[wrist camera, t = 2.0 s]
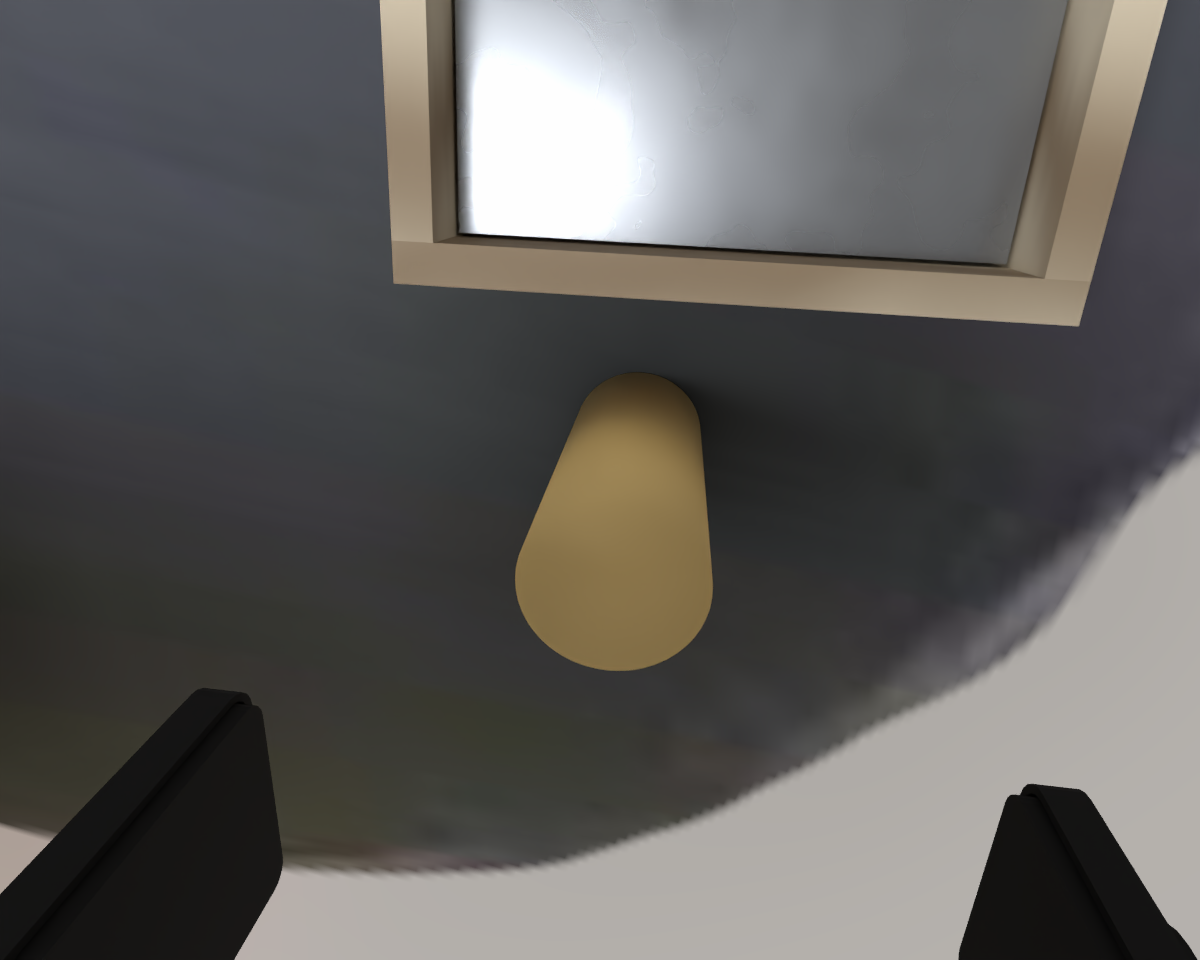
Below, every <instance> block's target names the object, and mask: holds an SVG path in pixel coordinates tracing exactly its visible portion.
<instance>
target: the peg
mask: <svg viewBox="0 0 1200 960" xmlns="http://www.w3.org/2000/svg"><path fill="white" fill-rule="evenodd" d="M515 586H516V593H517V598H518V602H519V605H520V608H521V610H522V613H523V615H524V617H525V619H526V620H527V622H528V624H529V625H530V627H531V628H532V629H533V631H534V632H535V633H536V634H537V635H538V637H539V638H540V639H541V640H542V641H543V642H544V643H546V644H547V645H548V646H549V647H550V648H551V649H553V650H554V651H556V652H557V653H559V654H560V655H562V656H564V657H566V658H567V659H569V660H571V661H574V662H576V663H579V664H581V665H584V666H588V667H592V668H595V669H602V670H609V671H627V670H636V669H641V668H646V667H649V666H652V665H655V664H658V663H660V662H662V661H665V660H667V659H669V658H670V657H672V656H674V655H675V654H677V653H678V652H679V651H681V650H682V649H683V648H684V647H686V646H687V645H688V644H689V643H690V642H691V641H692V640H693V639H694V638H695V636H696V635H697V633H698V632H699V631H700V629H701V628H702V626H703V624H704V622H705V620H706V618H707V615H708V613H709V610H710V607H711V601H712V596H713V579H712V566H711V554H710V541H709V529H708V516H707V504H706V491H705V479H704V466H703V454H702V441H701V429H700V421H699V418H698V414H697V412H696V409H695V407H694V405H693V403H692V402H691V400H690V399H689V397H688V396H687V395H686V394H685V393H684V392H683V391H682V390H681V389H680V388H679V387H678V386H676V385H675V384H674V383H672V382H671V381H669V380H667V379H665V378H663V377H660V376H657V375H654V374H649V373H642V372H633V373H625V374H621V375H617V376H615V377H612V378H610V379H608V380H606V381H604V382H603V383H601V384H600V385H598V386H597V387H596V388H595V389H594V390H593V391H592V392H591V393H590V394H589V395H588V396H587V398H586V399H585V401H584V402H583V404H582V406H581V408H580V410H579V413H578V415H577V418H576V420H575V422H574V425H573V427H572V430H571V432H570V434H569V437H568V439H567V441H566V444H565V446H564V449H563V451H562V453H561V456H560V458H559V461H558V463H557V465H556V468H555V470H554V472H553V475H552V477H551V480H550V482H549V484H548V487H547V489H546V491H545V494H544V496H543V499H542V501H541V503H540V506H539V508H538V511H537V513H536V515H535V518H534V520H533V522H532V525H531V527H530V530H529V532H528V534H527V537H526V539H525V542H524V544H523V546H522V549H521V551H520V554H519V556H518V561H517V565H516V573H515Z"/></svg>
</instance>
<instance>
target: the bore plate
mask: <svg viewBox="0 0 1200 960" xmlns="http://www.w3.org/2000/svg"><path fill="white" fill-rule="evenodd" d="M1067 2H1068V0H455V46H456V101H457V156H458V211H459V233H475V234H492V235H510V236H527V237H544V238H562V239H579V240H596V241H614V242H631V243H648V244H666V245H683V246H700V247H718V248H735V249H752V250H770V251H787V252H804V253H822V254H839V255H856V256H874V257H891V258H908V259H926V260H943V261H960V262H978V263H995V264H1007V260H1008V256H1009V252H1010V248H1011V243H1012V239H1013V235H1014V230H1015V226H1016V222H1017V217H1018V213H1019V209H1020V204H1021V200H1022V196H1023V192H1024V187H1025V183H1026V179H1027V174H1028V170H1029V166H1030V161H1031V157H1032V153H1033V148H1034V144H1035V140H1036V136H1037V131H1038V127H1039V123H1040V118H1041V114H1042V110H1043V105H1044V101H1045V97H1046V92H1047V88H1048V84H1049V79H1050V75H1051V71H1052V67H1053V62H1054V58H1055V54H1056V49H1057V45H1058V41H1059V36H1060V32H1061V28H1062V23H1063V19H1064V15H1065V11H1066V6H1067Z"/></svg>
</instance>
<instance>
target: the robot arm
mask: <svg viewBox="0 0 1200 960" xmlns="http://www.w3.org/2000/svg"><path fill="white" fill-rule="evenodd" d="M282 864H283V856H282V849H281V841H280V834H279V827H278V820H277V813H276V806H275V799H274V792H273V785H272V778H271V771H270V763H269V756H268V749H267V742H266V735H265V728H264V721H263V715H262V711H261V709H260V708H259V707H258V706H253V705H252V702H251V699H250V697H249V696H248V695H247V694H245V693H242V692H234V691H225V690H216V689H208V688H202V689H198V690H197V691H195V692H194V693H193V694H192V695H190V697H189V698H188V699H187V700H186V701H185V702H184V703H183V704H182V705H181V706H180V707H179V708H178V709H177V710H176V711H175V712H174V713H173V714H172V715H171V716H170V717H169V718H168V720H167V721H166V722H165V723H164V724H163V725H162V726H161V727H160V728H159V729H158V730H157V731H156V732H155V733H154V734H153V735H152V736H151V737H150V738H149V739H148V740H147V741H146V742H145V744H144V745H143V746H142V747H141V748H140V749H139V750H138V751H137V752H136V753H135V754H134V755H133V756H132V757H131V758H130V759H129V760H128V761H127V762H126V763H125V764H124V765H123V767H122V768H121V769H120V770H119V771H118V772H117V773H116V774H115V775H114V776H113V777H112V778H111V779H110V780H109V781H108V782H107V783H106V784H105V785H104V786H103V787H102V788H101V789H100V791H99V792H98V793H97V794H96V795H95V796H94V797H93V798H92V799H91V800H90V801H89V802H88V803H87V804H86V805H85V806H84V807H83V808H82V809H81V810H80V811H79V812H78V814H77V815H76V816H75V817H74V818H73V819H72V820H71V821H70V822H69V823H68V824H67V825H66V826H65V827H64V828H63V829H62V830H61V831H60V832H59V833H58V834H57V835H56V837H55V838H54V839H53V840H52V841H51V842H50V843H49V844H48V845H47V846H46V847H45V848H44V849H43V850H42V851H41V852H40V853H39V854H38V855H37V856H36V857H35V859H33V861H32V862H31V863H30V864H29V865H28V866H27V867H26V868H25V869H24V870H23V871H22V872H21V873H20V874H19V875H18V876H17V877H16V878H15V879H14V880H13V881H12V882H11V884H10V885H9V886H8V887H7V888H6V889H5V890H4V891H3V892H2V893H1V894H0V960H234V959H235V957H236V955H237V954H238V952H239V950H240V949H241V947H242V945H243V943H244V942H245V940H246V938H247V937H248V935H249V933H250V931H251V930H252V928H253V926H254V924H255V923H256V921H257V919H258V918H259V916H260V914H261V913H262V911H263V909H264V907H265V906H266V904H267V902H268V901H269V899H270V897H271V896H272V894H273V892H274V890H275V888H276V886H277V884H278V881H279V878H280V875H281V871H282ZM959 960H1197V958H1196V957H1195V955H1194V953H1193V952H1192V950H1191V949H1190V947H1189V945H1188V944H1187V943H1186V942H1185V940H1184V939H1183V938H1182V936H1181V935H1180V934H1179V933H1178V932H1177V930H1175V929H1174V928H1173V927H1171V926H1170V925H1169V924H1168V923H1167V922H1166V920H1165V918H1164V917H1163V915H1162V913H1161V912H1160V910H1159V909H1158V907H1157V906H1156V904H1155V902H1154V901H1153V899H1152V897H1151V896H1150V894H1149V893H1148V891H1147V889H1146V888H1145V886H1144V884H1143V883H1142V881H1141V880H1140V878H1139V876H1138V875H1137V873H1136V872H1135V870H1134V868H1133V867H1132V865H1131V864H1130V862H1129V860H1128V859H1127V857H1126V856H1125V854H1124V852H1123V851H1122V849H1121V847H1120V846H1119V844H1118V843H1117V841H1116V839H1115V838H1114V836H1113V835H1112V833H1111V831H1110V830H1109V828H1108V826H1107V825H1106V823H1105V822H1104V820H1103V818H1102V817H1101V815H1100V814H1099V812H1098V810H1097V809H1096V807H1095V806H1094V804H1093V802H1092V801H1091V799H1090V798H1089V797H1088V796H1087V794H1086V793H1085V792H1083V791H1081V790H1079V789H1072V788H1063V787H1054V786H1045V785H1037V784H1027V785H1026V786H1025V787H1024V788H1023V790H1022V792H1021V794H1020V795H1010V796H1009V797H1008V798H1007V800H1006V802H1005V805H1004V808H1003V812H1002V815H1001V818H1000V821H999V824H998V828H997V832H996V834H995V837H994V841H993V844H992V847H991V850H990V853H989V857H988V860H987V863H986V866H985V870H984V872H983V876H982V879H981V882H980V885H979V888H978V892H977V895H976V898H975V901H974V905H973V908H972V911H971V914H970V918H969V921H968V924H967V927H966V930H965V933H964V937H963V940H962V943H961V946H960V950H959Z"/></svg>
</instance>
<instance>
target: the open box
mask: <svg viewBox="0 0 1200 960" xmlns="http://www.w3.org/2000/svg"><path fill="white" fill-rule="evenodd" d="M1167 1H1168V0H1068V2H1067V6H1066V11H1065V15H1064V19H1063V23H1062V28H1061V32H1060V36H1059V41H1058V45H1057V49H1056V54H1055V58H1054V62H1053V67H1052V71H1051V75H1050V79H1049V84H1048V88H1047V92H1046V97H1045V101H1044V105H1043V110H1042V114H1041V118H1040V123H1039V127H1038V131H1037V136H1036V140H1035V144H1034V148H1033V153H1032V157H1031V161H1030V166H1029V170H1028V174H1027V179H1026V183H1025V187H1024V192H1023V196H1022V200H1021V204H1020V209H1019V213H1018V217H1017V222H1016V226H1015V230H1014V235H1013V239H1012V243H1011V248H1010V252H1009V256H1008V260H1007V264H995V263H978V262H960V261H943V260H926V259H908V258H891V257H874V256H856V255H839V254H822V253H804V252H787V251H770V250H752V249H735V248H718V247H700V246H683V245H666V244H648V243H631V242H614V241H596V240H579V239H562V238H544V237H527V236H510V235H492V234H475V233H459V211H458V156H457V101H456V46H455V0H380V13H381V33H382V54H383V74H384V95H385V115H386V136H387V156H388V177H389V198H390V218H391V239H392V259H393V280H394V283H395V284H410V285H426V286H442V287H458V288H474V289H490V290H506V291H522V292H538V293H554V294H570V295H586V296H602V297H618V298H634V299H650V300H666V301H682V302H698V303H714V304H730V305H746V306H762V307H778V308H794V309H810V310H826V311H842V312H858V313H874V314H890V315H906V316H921V317H937V318H953V319H969V320H985V321H1001V322H1017V323H1033V324H1049V325H1065V326H1079V323H1080V320H1081V316H1082V312H1083V309H1084V305H1085V301H1086V298H1087V294H1088V290H1089V287H1090V283H1091V279H1092V276H1093V272H1094V268H1095V265H1096V261H1097V257H1098V254H1099V250H1100V246H1101V243H1102V239H1103V235H1104V232H1105V228H1106V224H1107V221H1108V217H1109V213H1110V210H1111V206H1112V202H1113V199H1114V195H1115V191H1116V188H1117V184H1118V180H1119V177H1120V173H1121V169H1122V166H1123V162H1124V158H1125V155H1126V151H1127V147H1128V144H1129V140H1130V136H1131V133H1132V129H1133V125H1134V122H1135V118H1136V114H1137V111H1138V107H1139V103H1140V100H1141V96H1142V92H1143V89H1144V85H1145V81H1146V78H1147V74H1148V70H1149V67H1150V63H1151V59H1152V56H1153V52H1154V48H1155V45H1156V41H1157V37H1158V34H1159V30H1160V26H1161V23H1162V19H1163V15H1164V12H1165V8H1166V4H1167Z"/></svg>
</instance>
